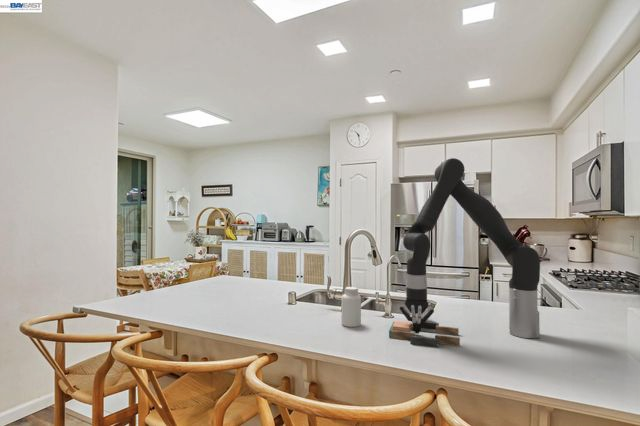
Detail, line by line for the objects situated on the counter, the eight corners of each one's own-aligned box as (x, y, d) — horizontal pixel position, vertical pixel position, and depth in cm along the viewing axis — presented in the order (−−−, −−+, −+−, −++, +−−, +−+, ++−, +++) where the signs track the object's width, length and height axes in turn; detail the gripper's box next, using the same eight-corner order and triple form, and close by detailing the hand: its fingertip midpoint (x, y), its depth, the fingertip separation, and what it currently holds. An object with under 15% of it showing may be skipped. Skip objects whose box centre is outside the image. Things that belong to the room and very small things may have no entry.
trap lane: (458, 331, 133) (457, 324, 133) (460, 350, 114) (460, 342, 114) (394, 324, 141) (394, 318, 141) (387, 341, 122) (387, 334, 122)
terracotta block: (410, 333, 132) (410, 322, 132) (409, 339, 125) (409, 327, 125) (395, 331, 134) (395, 320, 134) (392, 337, 127) (392, 326, 127)
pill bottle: (364, 324, 142) (364, 287, 142) (353, 328, 136) (352, 290, 136) (349, 320, 147) (349, 285, 147) (337, 324, 141) (337, 288, 142)
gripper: (435, 285, 130) (435, 331, 130) (399, 283, 134) (400, 327, 134) (434, 289, 123) (435, 338, 123) (397, 286, 127) (397, 333, 127)
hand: (416, 332), depth 128 cm, fingers closed
